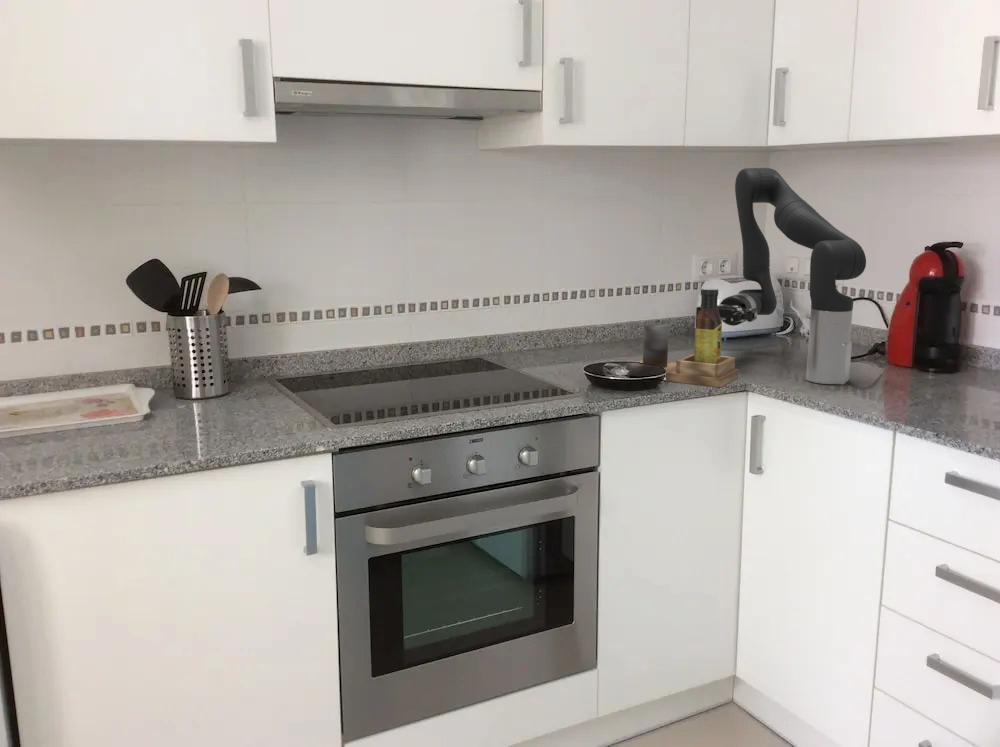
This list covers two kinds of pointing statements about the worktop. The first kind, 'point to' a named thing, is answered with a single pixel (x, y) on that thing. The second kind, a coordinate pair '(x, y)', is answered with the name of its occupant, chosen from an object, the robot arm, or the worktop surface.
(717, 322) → the sauce bottle
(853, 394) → the worktop surface
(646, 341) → the condiment caddy
